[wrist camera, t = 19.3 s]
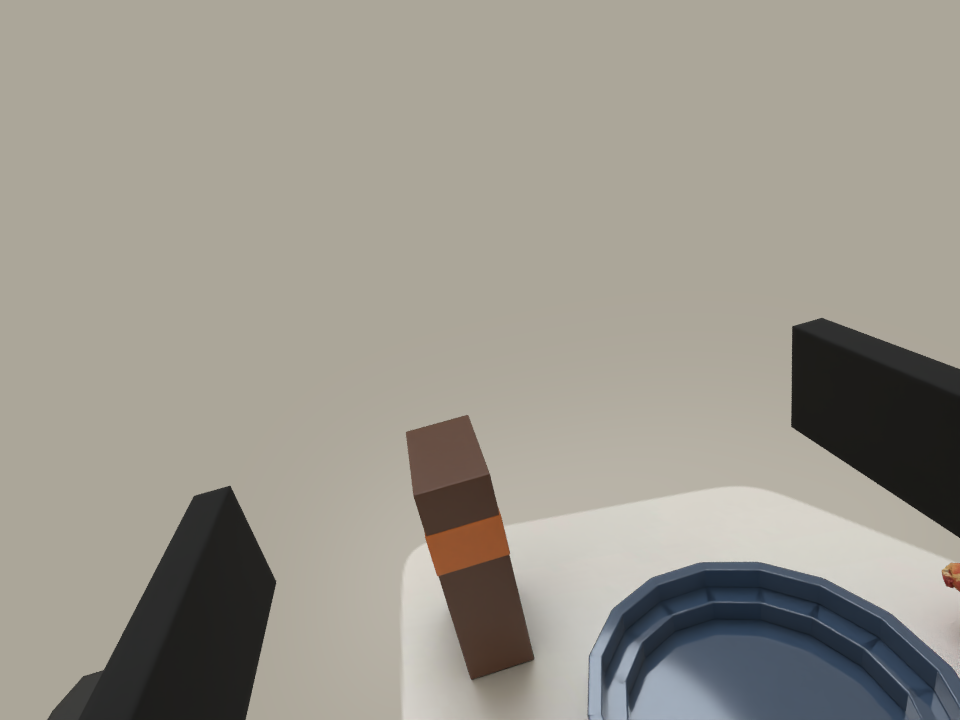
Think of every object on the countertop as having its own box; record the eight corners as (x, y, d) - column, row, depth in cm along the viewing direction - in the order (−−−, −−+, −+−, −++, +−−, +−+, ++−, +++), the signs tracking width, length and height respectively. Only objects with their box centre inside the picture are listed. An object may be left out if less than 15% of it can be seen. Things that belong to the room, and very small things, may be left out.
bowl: (797, 572, 30) (798, 530, 29) (1116, 887, 17) (1141, 834, 16) (555, 650, 29) (546, 610, 28) (705, 1055, 16) (700, 1010, 15)
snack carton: (509, 577, 34) (468, 413, 30) (535, 660, 29) (491, 474, 24) (454, 594, 34) (404, 431, 30) (470, 681, 29) (412, 496, 24)
